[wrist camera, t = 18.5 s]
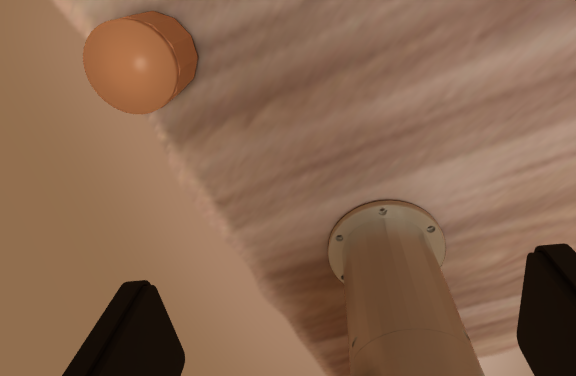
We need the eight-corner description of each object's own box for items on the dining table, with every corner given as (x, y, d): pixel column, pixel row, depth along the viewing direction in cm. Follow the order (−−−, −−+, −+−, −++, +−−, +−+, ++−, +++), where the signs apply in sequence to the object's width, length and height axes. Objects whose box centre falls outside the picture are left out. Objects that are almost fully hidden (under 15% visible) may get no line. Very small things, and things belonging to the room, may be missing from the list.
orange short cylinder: (206, 86, 36) (187, 105, 30) (137, 100, 37) (107, 121, 32) (180, 3, 32) (154, 9, 27) (105, 22, 34) (66, 31, 28)
